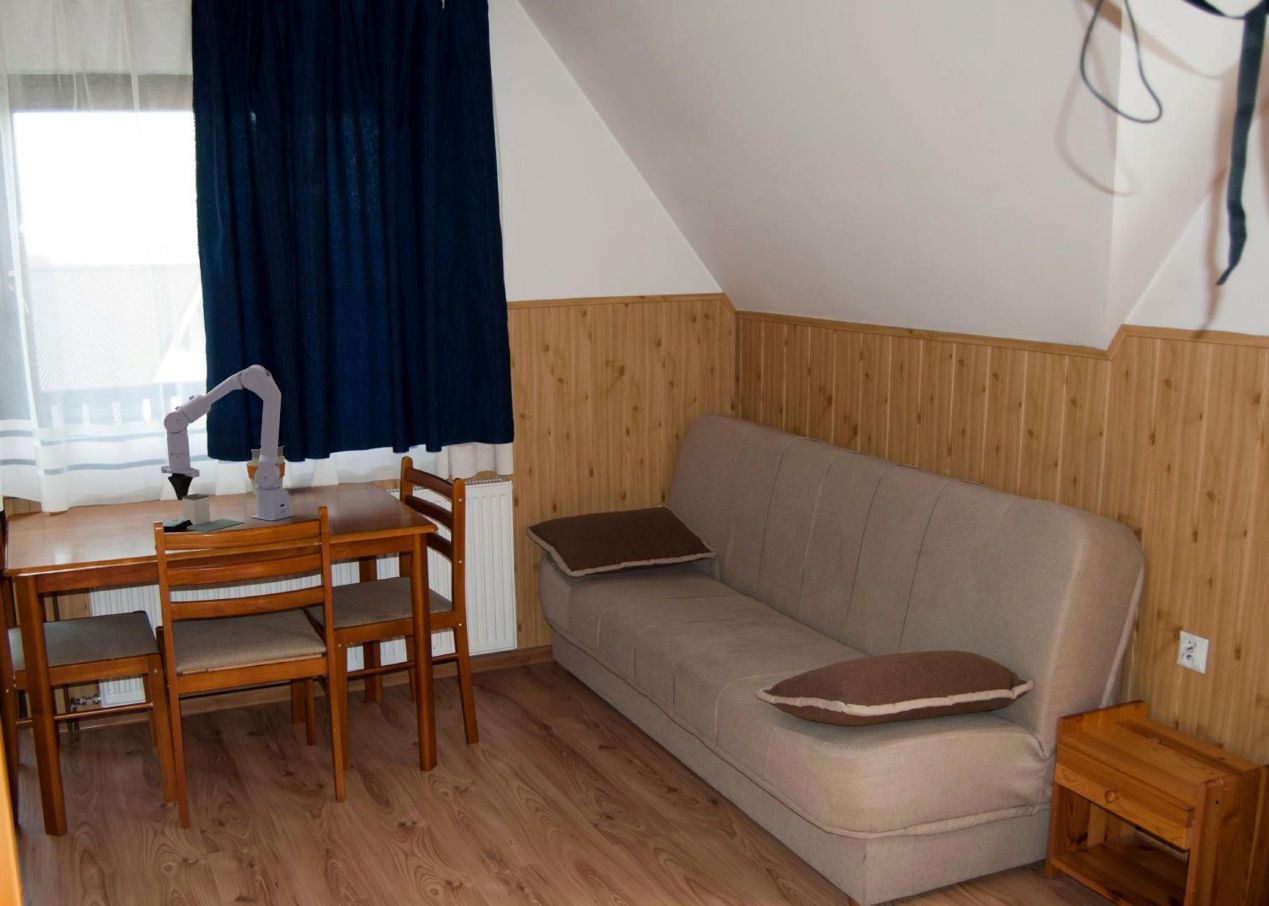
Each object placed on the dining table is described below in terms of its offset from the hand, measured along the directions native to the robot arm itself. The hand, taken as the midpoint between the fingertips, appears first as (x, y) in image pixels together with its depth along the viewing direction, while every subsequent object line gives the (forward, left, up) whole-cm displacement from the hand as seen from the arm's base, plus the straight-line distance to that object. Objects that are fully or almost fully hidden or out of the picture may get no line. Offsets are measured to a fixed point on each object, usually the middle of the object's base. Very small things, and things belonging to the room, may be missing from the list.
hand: (182, 499), depth 333 cm
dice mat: (-13, 0, -6) cm, 15 cm away
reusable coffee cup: (+12, -41, -6) cm, 43 cm away
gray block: (-6, 0, -6) cm, 9 cm away
